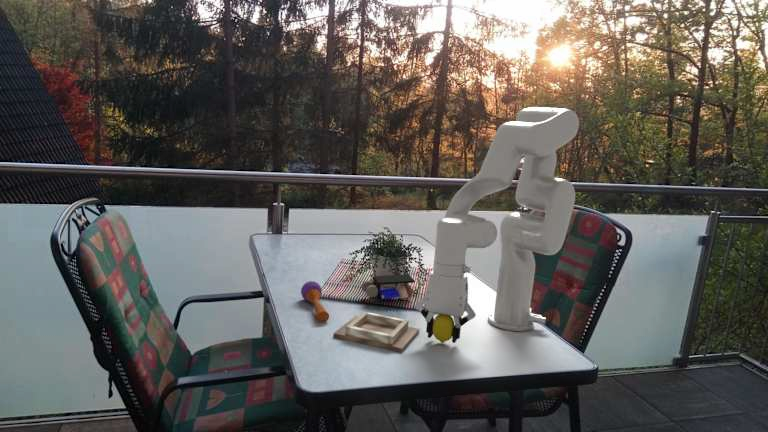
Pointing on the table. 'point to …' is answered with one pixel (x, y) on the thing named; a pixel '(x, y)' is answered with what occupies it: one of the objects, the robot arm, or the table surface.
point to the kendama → (315, 299)
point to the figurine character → (375, 292)
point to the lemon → (443, 327)
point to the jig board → (378, 331)
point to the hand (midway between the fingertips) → (442, 337)
